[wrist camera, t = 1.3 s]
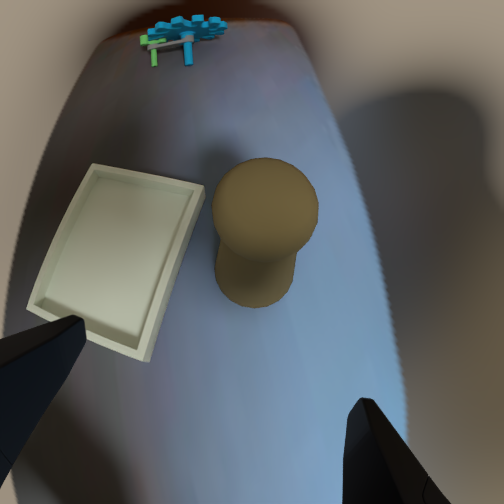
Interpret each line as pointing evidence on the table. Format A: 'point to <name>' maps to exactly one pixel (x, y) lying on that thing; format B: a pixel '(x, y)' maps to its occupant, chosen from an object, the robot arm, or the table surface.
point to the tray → (118, 256)
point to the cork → (261, 229)
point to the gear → (181, 35)
